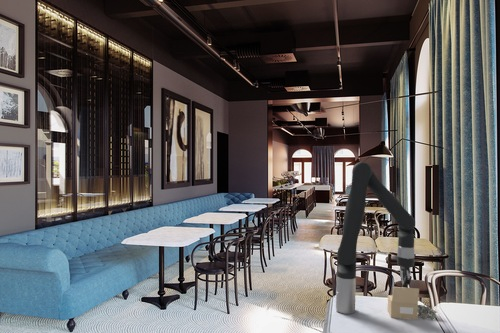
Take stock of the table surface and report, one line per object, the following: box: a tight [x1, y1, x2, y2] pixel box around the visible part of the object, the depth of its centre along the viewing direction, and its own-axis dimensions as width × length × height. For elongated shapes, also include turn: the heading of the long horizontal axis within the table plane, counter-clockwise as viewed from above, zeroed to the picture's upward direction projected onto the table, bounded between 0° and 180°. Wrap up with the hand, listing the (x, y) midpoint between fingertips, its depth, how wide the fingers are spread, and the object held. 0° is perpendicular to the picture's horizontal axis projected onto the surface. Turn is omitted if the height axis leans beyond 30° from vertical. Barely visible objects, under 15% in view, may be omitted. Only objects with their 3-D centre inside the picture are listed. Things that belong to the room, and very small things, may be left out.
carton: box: [387, 294, 419, 321], centre depth 181 cm, size 12×9×8 cm
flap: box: [391, 286, 420, 305], centre depth 176 cm, size 12×8×1 cm
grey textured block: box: [417, 304, 437, 320], centre depth 182 cm, size 11×8×4 cm
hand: (404, 291), depth 177 cm, fingers closed
